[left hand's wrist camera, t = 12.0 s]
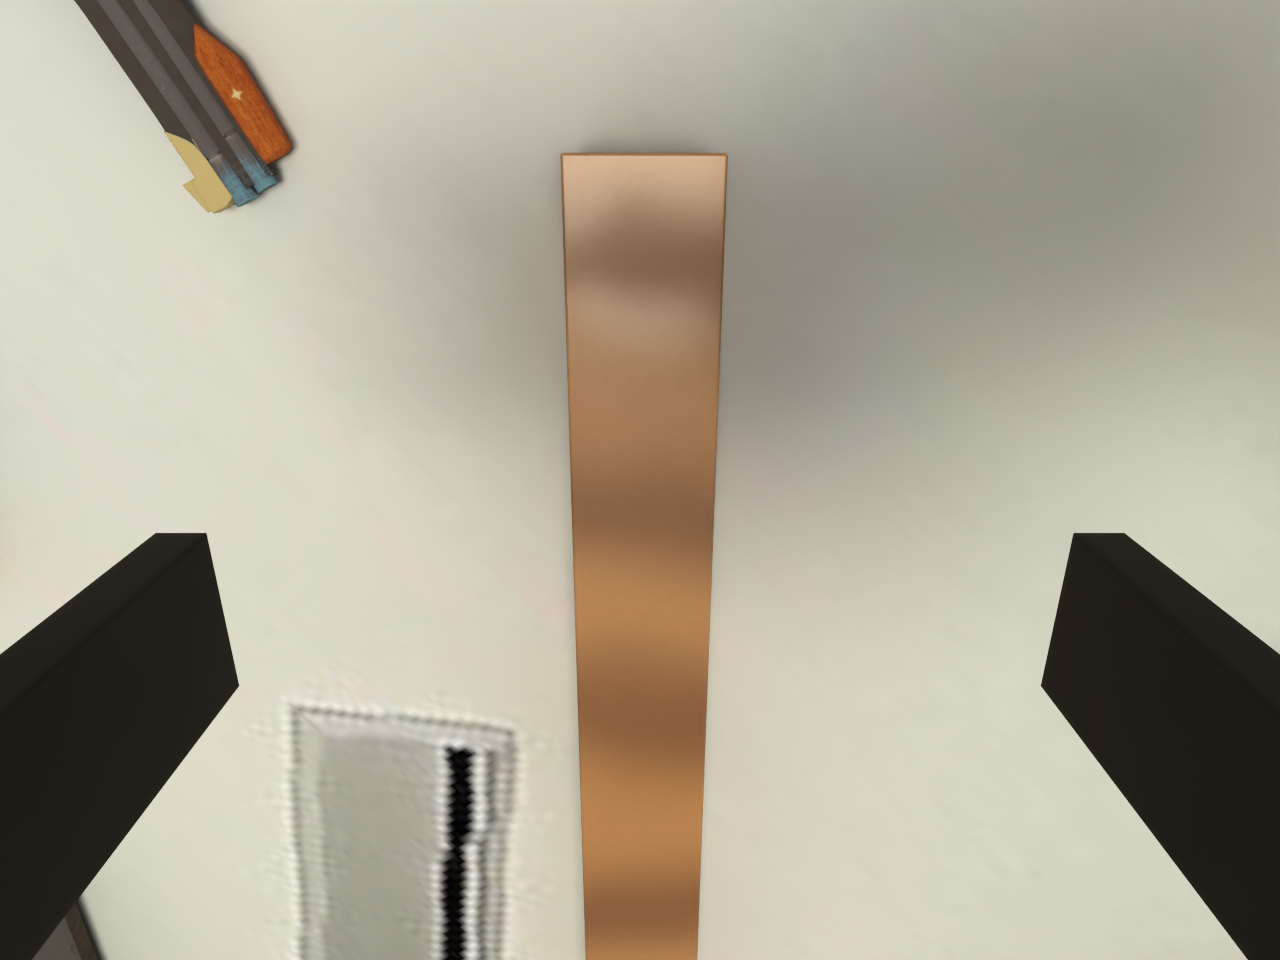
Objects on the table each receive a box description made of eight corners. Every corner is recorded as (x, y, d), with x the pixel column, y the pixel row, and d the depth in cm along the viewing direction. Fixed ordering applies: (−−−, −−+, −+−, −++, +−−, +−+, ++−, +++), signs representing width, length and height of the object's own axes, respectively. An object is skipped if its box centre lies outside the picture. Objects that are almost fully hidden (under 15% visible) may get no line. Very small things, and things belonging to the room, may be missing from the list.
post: (576, 153, 33) (560, 152, 26) (709, 153, 33) (727, 153, 26) (601, 1157, 57) (596, 1296, 50) (678, 1157, 57) (684, 1296, 50)
